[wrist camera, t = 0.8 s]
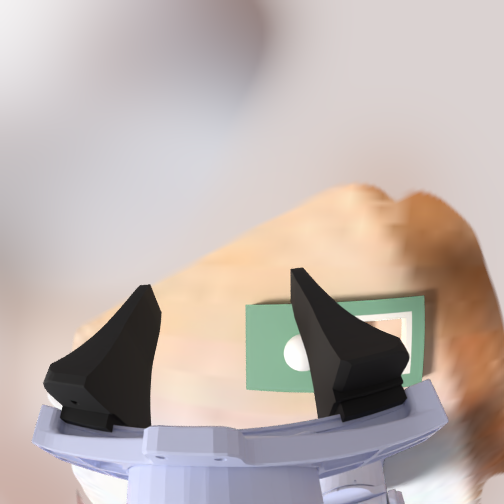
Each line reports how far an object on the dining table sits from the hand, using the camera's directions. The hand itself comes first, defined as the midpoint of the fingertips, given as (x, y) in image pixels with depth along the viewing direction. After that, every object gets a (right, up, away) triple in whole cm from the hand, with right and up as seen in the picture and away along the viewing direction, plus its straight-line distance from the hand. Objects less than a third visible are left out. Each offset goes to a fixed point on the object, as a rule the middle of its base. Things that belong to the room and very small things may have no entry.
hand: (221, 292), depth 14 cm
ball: (+6, -7, +10) cm, 13 cm away
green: (+10, -7, +12) cm, 18 cm away
